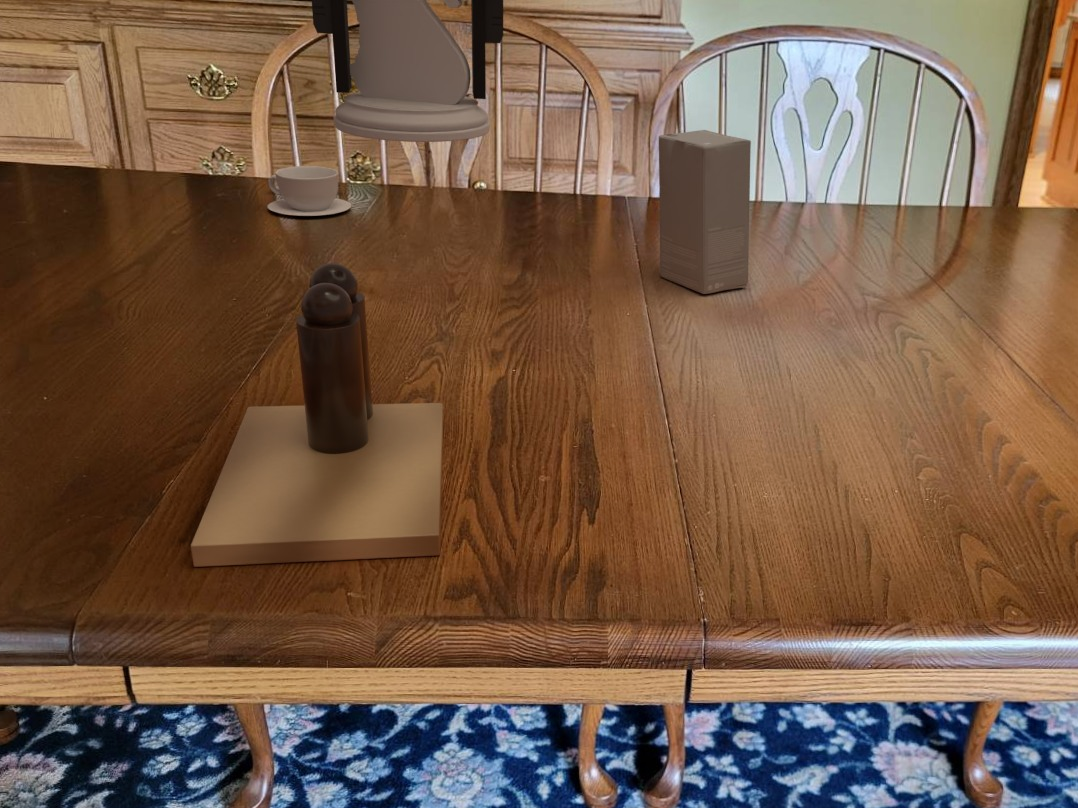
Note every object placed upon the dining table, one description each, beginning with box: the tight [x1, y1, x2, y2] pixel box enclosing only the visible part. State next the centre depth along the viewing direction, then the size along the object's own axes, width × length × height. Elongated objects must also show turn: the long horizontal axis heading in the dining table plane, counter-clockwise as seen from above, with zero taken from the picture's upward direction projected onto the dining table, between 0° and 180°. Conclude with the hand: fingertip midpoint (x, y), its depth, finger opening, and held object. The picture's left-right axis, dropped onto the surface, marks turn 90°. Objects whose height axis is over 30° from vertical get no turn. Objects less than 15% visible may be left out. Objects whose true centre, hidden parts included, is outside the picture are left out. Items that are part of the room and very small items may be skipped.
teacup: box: [267, 165, 352, 217], centre depth 137 cm, size 10×10×5 cm
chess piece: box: [333, 0, 491, 143], centre depth 69 cm, size 10×10×15 cm
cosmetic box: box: [658, 129, 752, 295], centre depth 117 cm, size 8×7×16 cm
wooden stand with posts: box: [190, 262, 444, 568], centre depth 71 cm, size 14×20×13 cm
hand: (412, 92), depth 71 cm, fingers closed on chess piece, 8 cm apart
